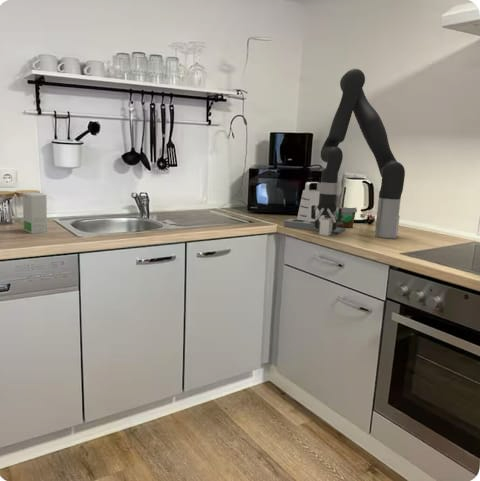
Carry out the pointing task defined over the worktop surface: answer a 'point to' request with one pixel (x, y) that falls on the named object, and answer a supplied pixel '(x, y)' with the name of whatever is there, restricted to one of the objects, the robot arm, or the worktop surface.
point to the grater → (309, 202)
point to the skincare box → (35, 212)
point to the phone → (338, 230)
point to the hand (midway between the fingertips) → (325, 229)
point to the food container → (346, 217)
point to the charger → (325, 226)
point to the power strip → (301, 224)
